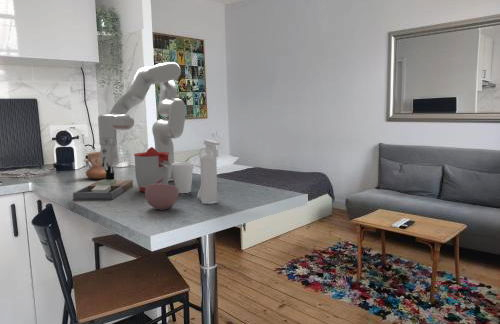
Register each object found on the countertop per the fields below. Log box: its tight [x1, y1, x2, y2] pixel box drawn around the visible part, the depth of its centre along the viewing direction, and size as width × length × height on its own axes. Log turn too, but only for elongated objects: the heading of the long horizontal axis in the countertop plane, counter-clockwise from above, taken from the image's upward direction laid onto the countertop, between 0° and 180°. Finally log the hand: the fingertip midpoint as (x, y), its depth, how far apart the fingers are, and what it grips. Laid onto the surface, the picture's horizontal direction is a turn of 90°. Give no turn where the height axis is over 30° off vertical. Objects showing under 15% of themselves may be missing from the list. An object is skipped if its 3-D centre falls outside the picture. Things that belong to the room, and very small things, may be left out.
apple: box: [144, 178, 179, 210], centre depth 139 cm, size 12×12×11 cm
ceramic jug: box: [83, 151, 116, 180], centre depth 204 cm, size 18×14×14 cm
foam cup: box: [172, 161, 194, 194], centre depth 167 cm, size 10×9×13 cm
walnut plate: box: [86, 179, 134, 194], centre depth 175 cm, size 16×14×3 cm
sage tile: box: [98, 179, 117, 186], centre depth 170 cm, size 6×6×2 cm
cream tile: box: [92, 185, 111, 192], centre depth 164 cm, size 6×6×2 cm
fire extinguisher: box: [196, 139, 221, 202], centre depth 148 cm, size 7×12×25 cm, turn 46°
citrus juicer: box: [133, 146, 170, 193], centre depth 171 cm, size 16×17×20 cm
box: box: [72, 186, 124, 201], centre depth 161 cm, size 16×14×3 cm
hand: (110, 181), depth 175 cm, fingers closed
